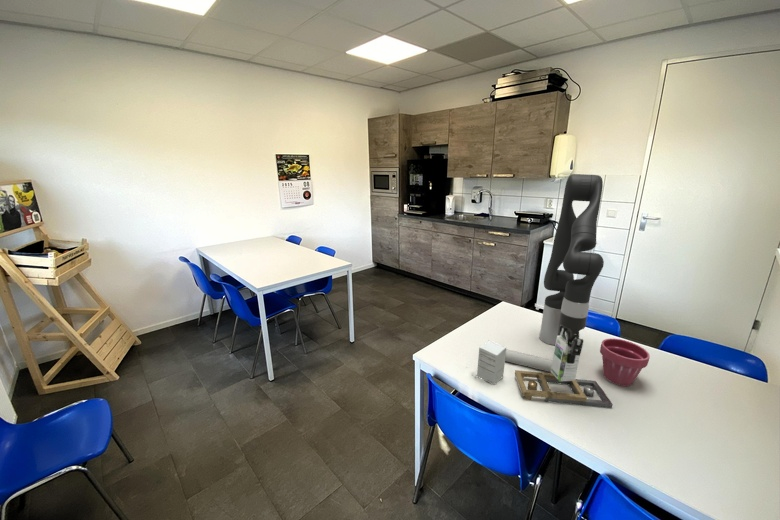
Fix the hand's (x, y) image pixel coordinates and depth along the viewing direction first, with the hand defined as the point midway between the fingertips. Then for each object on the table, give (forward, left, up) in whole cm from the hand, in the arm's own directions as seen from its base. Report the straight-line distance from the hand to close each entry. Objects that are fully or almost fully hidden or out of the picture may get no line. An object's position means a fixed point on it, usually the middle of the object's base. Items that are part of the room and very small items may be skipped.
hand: (566, 356), depth 108 cm
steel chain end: (0, +4, -14) cm, 15 cm away
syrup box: (0, 0, -8) cm, 8 cm away
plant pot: (-11, +24, -14) cm, 30 cm away
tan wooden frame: (0, -4, -14) cm, 15 cm away
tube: (-15, -9, -14) cm, 23 cm away
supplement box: (-5, -23, -14) cm, 28 cm away
